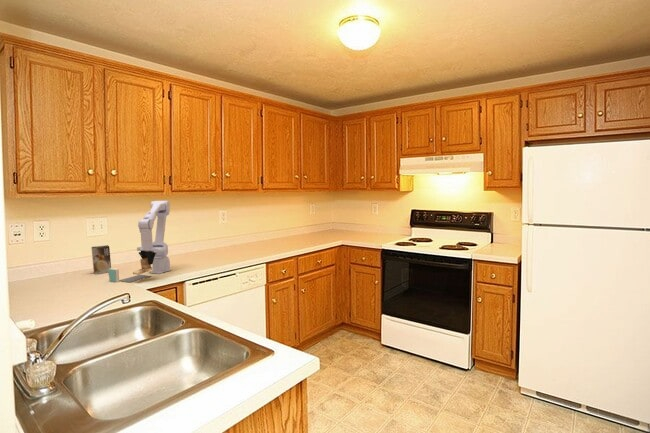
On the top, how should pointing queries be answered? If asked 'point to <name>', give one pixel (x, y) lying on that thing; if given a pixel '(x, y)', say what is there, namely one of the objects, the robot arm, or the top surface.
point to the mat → (134, 278)
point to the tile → (114, 275)
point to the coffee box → (101, 259)
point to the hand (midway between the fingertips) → (148, 264)
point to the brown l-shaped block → (143, 267)
